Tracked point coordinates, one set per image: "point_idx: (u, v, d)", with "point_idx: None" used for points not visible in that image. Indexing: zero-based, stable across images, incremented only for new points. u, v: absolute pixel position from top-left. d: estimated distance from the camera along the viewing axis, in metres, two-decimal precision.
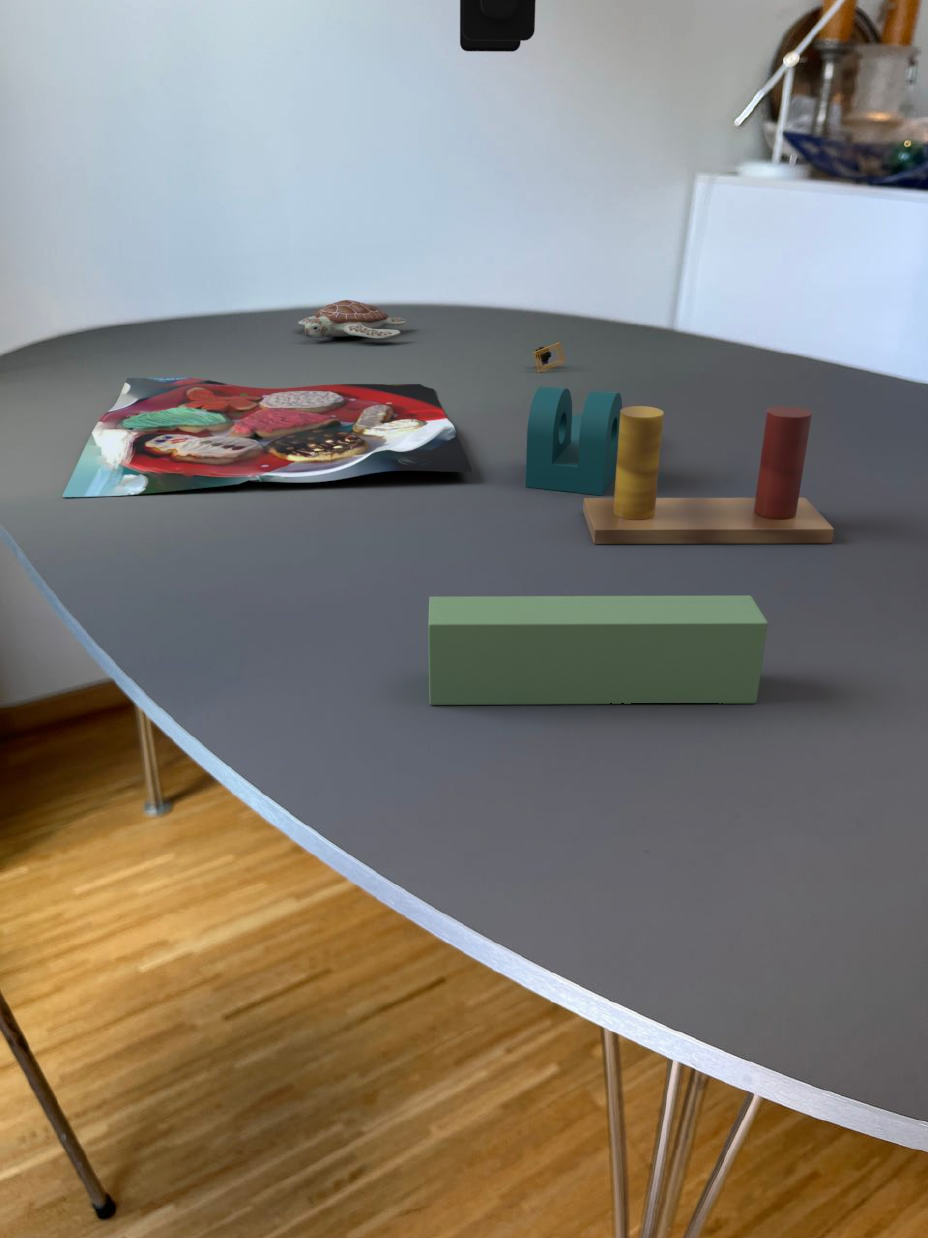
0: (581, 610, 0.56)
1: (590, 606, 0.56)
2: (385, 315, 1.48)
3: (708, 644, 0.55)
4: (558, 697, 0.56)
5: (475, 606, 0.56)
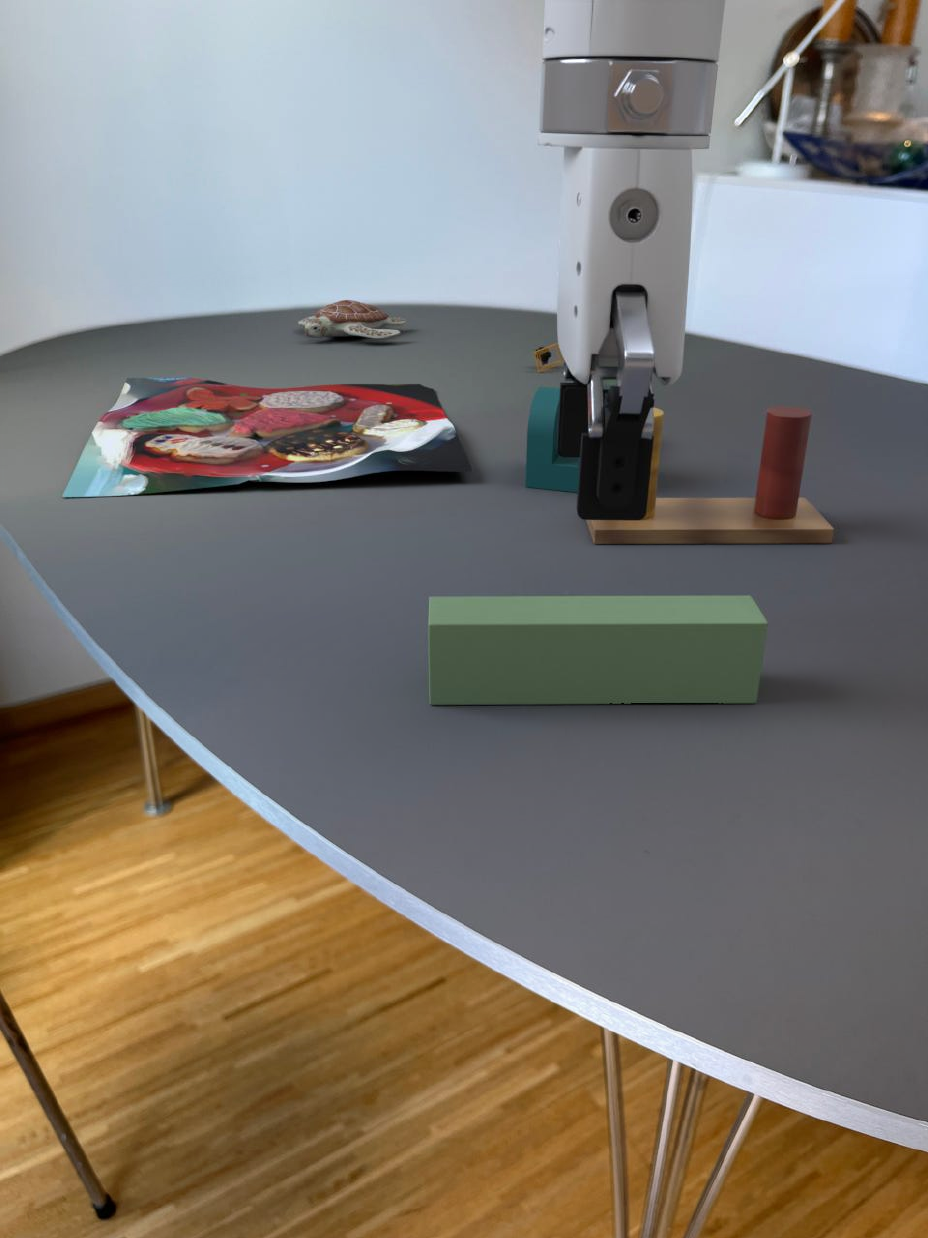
0: (581, 610, 0.56)
1: (590, 606, 0.56)
2: (385, 315, 1.48)
3: (708, 644, 0.55)
4: (558, 697, 0.56)
5: (475, 606, 0.56)
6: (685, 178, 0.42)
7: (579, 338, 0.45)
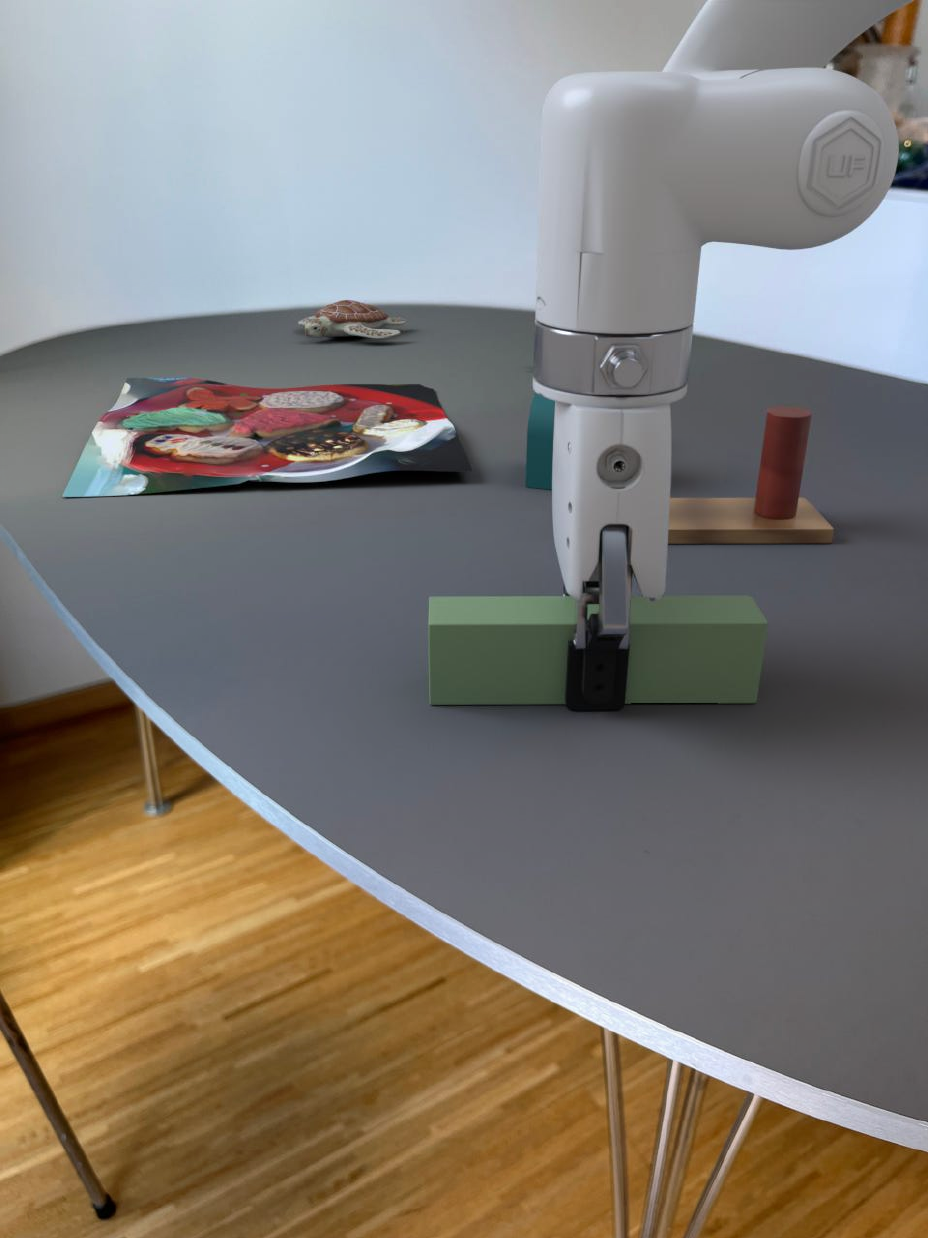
0: None
1: (590, 606, 0.56)
2: (385, 315, 1.48)
3: (708, 644, 0.55)
4: (558, 697, 0.56)
5: (475, 606, 0.56)
6: (664, 434, 0.47)
7: (571, 567, 0.50)
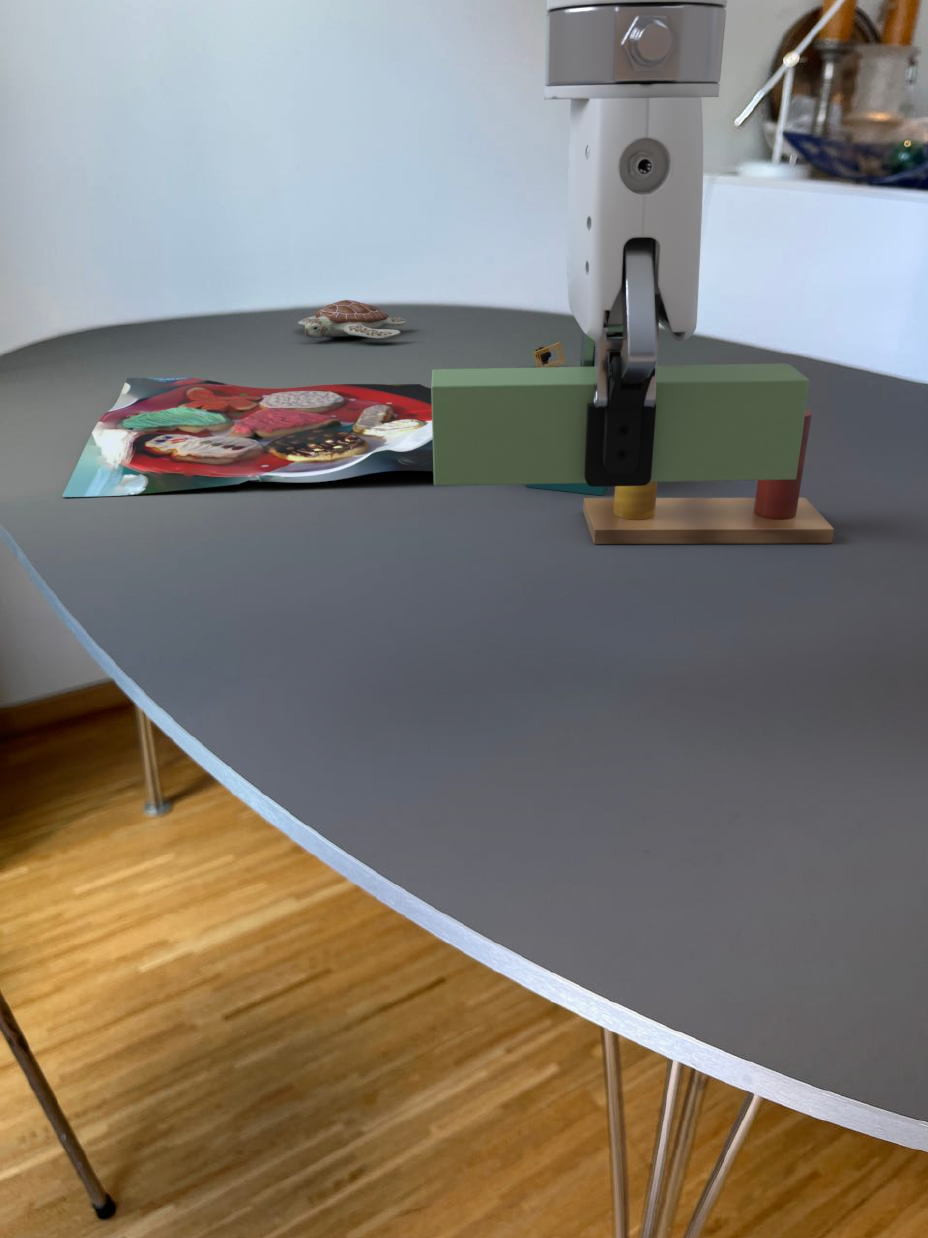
0: None
1: None
2: (385, 315, 1.48)
3: (742, 407, 0.49)
4: (576, 474, 0.51)
5: (483, 374, 0.51)
6: (695, 126, 0.42)
7: (591, 295, 0.44)
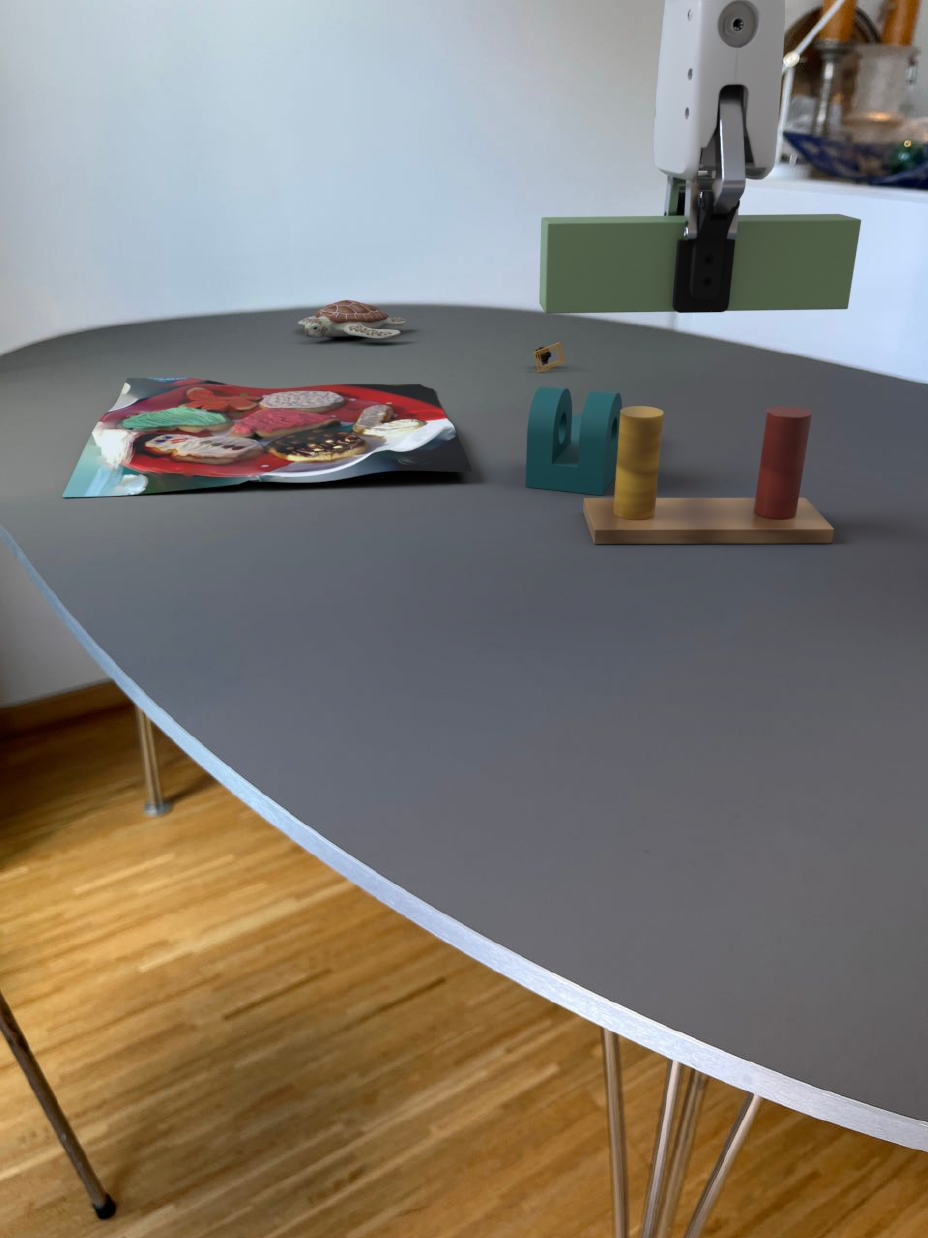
0: None
1: None
2: (385, 315, 1.48)
3: (805, 244, 0.59)
4: (665, 303, 0.60)
5: (587, 218, 0.60)
6: None
7: (690, 135, 0.54)
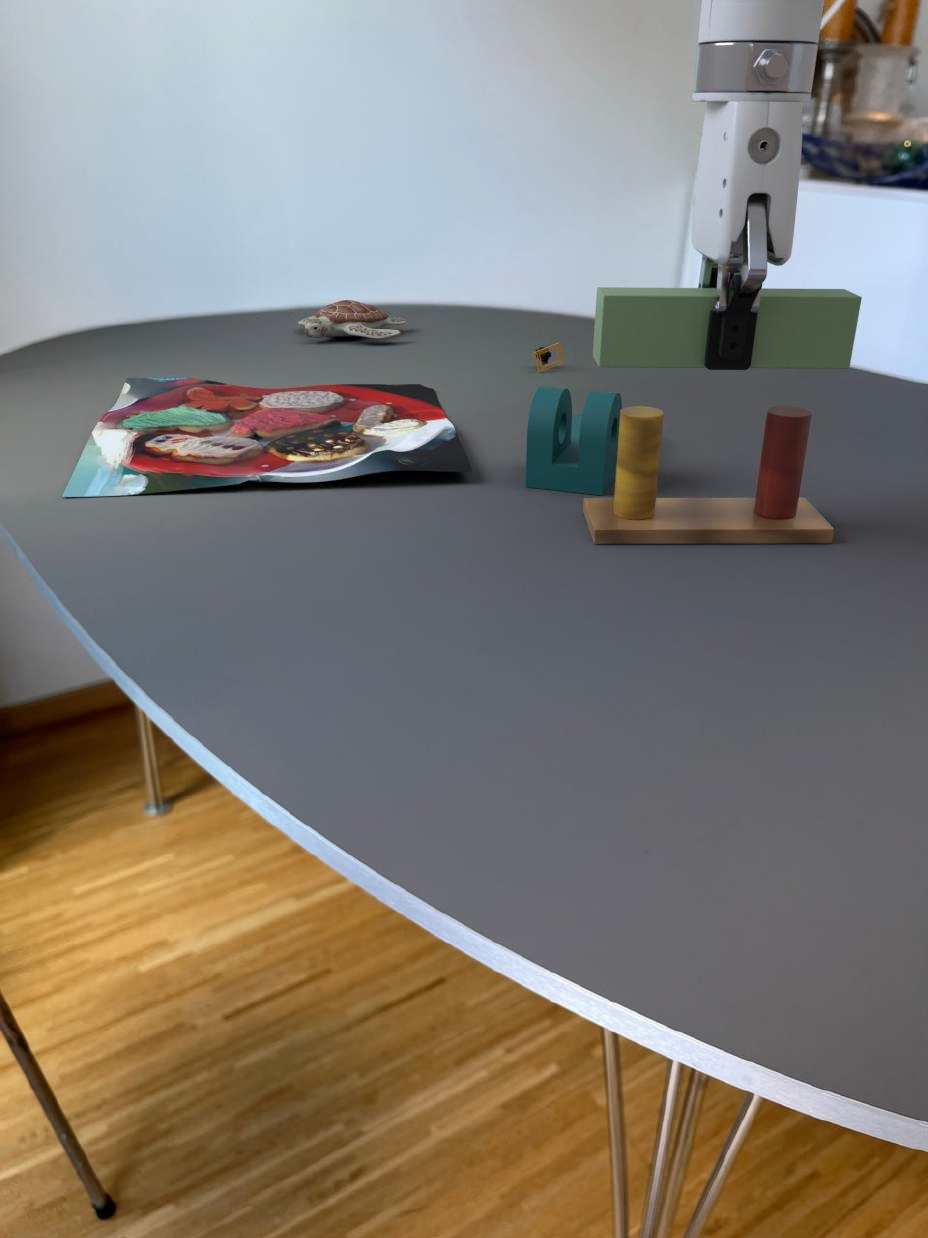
0: None
1: None
2: (385, 315, 1.48)
3: (815, 315, 0.72)
4: (698, 361, 0.73)
5: (635, 290, 0.73)
6: (798, 120, 0.64)
7: (723, 231, 0.67)
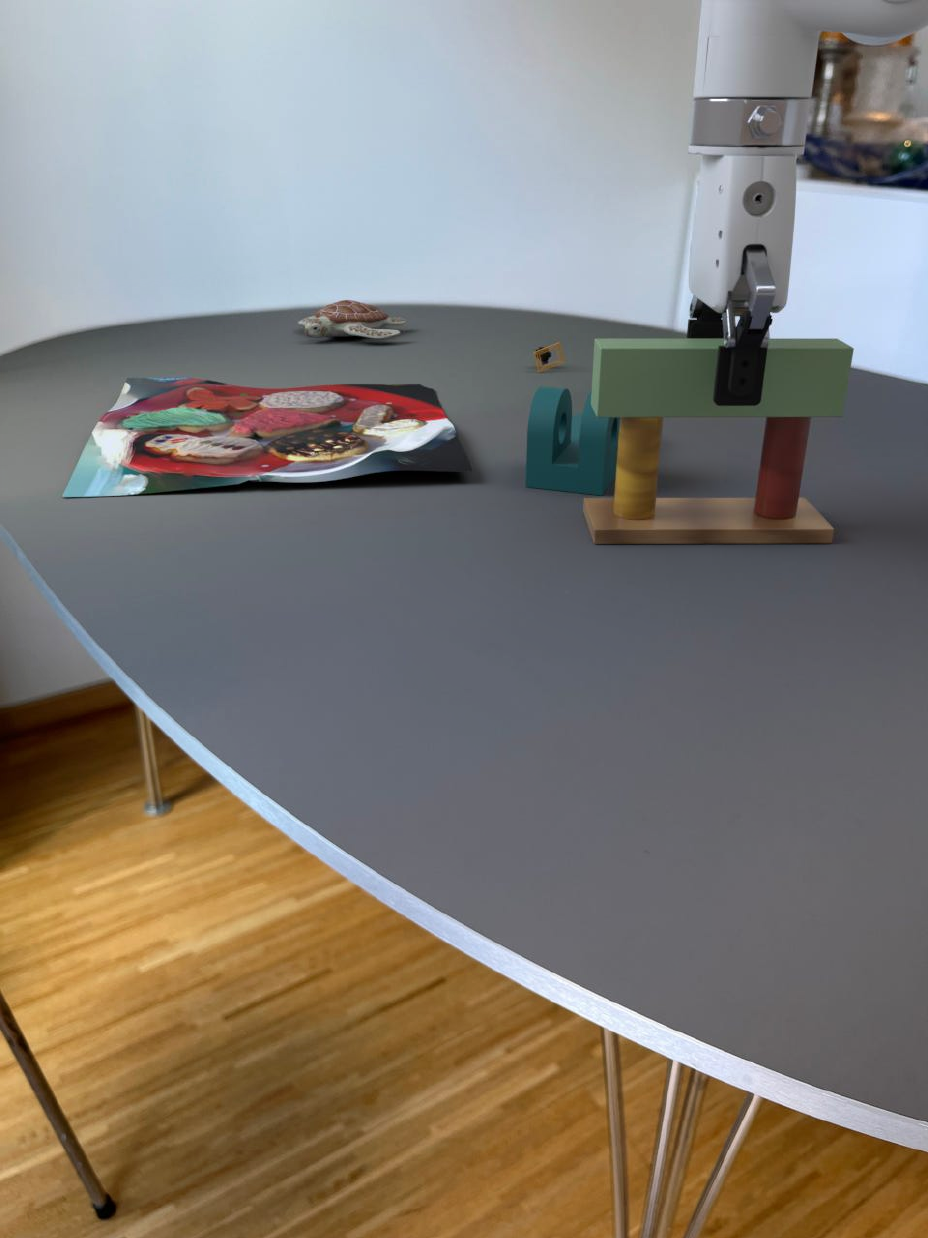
0: (712, 343, 0.74)
1: (718, 342, 0.75)
2: (385, 315, 1.48)
3: (808, 366, 0.74)
4: (694, 410, 0.75)
5: (632, 342, 0.75)
6: (792, 174, 0.66)
7: (720, 281, 0.68)
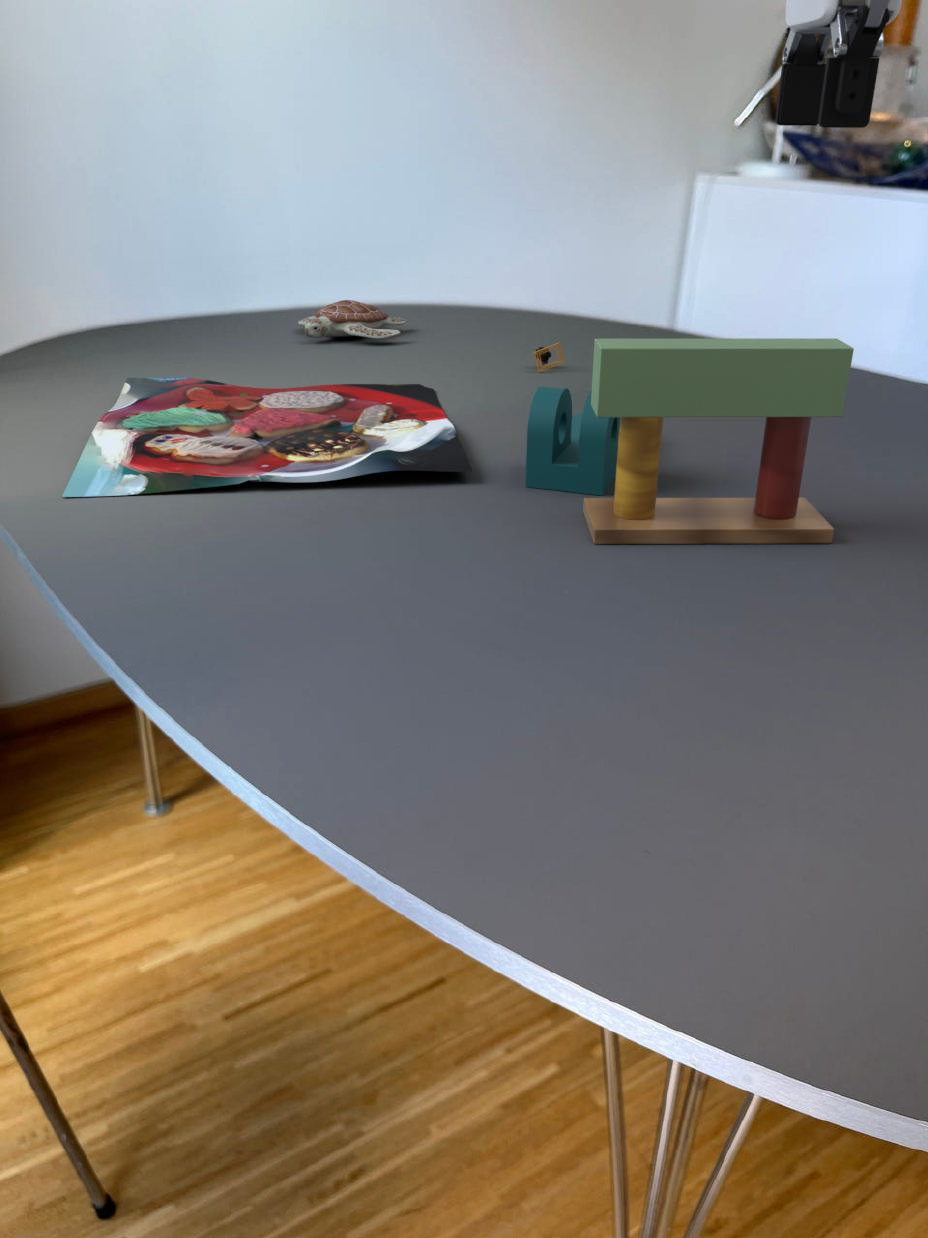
0: (712, 343, 0.74)
1: (718, 342, 0.75)
2: (385, 315, 1.48)
3: (808, 366, 0.74)
4: (694, 410, 0.75)
5: (632, 342, 0.75)
6: None
7: None
